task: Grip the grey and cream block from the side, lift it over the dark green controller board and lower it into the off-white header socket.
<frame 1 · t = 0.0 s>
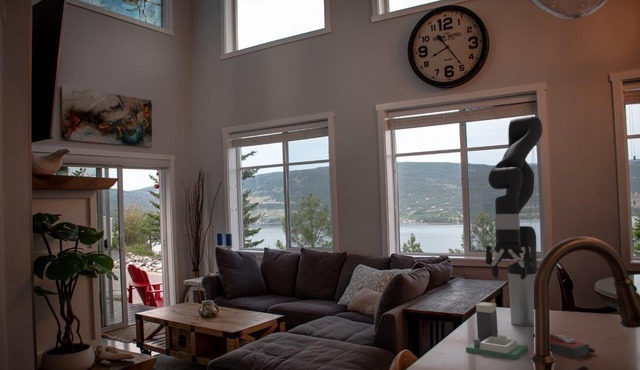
hand: (509, 278, 159), 17 cm above the kitchen island, tool pointing down, fingers open, 8 cm apart
walkie-talkie: (556, 349, 140), on the kitchen island
controller board: (496, 350, 140), on the kitchen island
grey and cream block: (488, 340, 151), on the kitchen island
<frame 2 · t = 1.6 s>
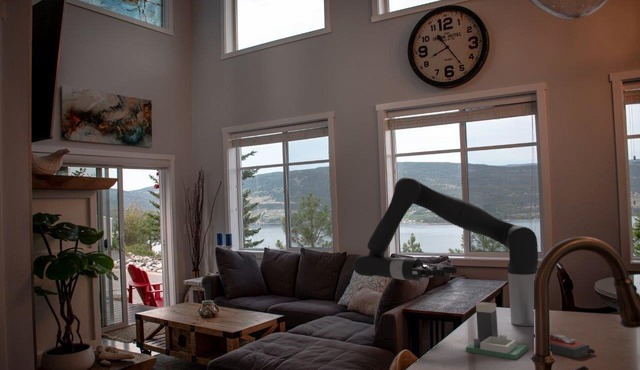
hand: (450, 271, 159), 20 cm above the kitchen island, tool horizontal, fingers open, 8 cm apart
nothing on the kitchen island moved.
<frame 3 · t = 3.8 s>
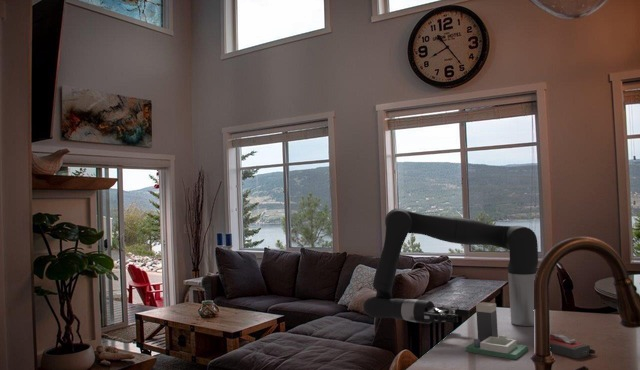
hand: (463, 316, 156), 6 cm above the kitchen island, tool horizontal, fingers open, 8 cm apart
nothing on the kitchen island moved.
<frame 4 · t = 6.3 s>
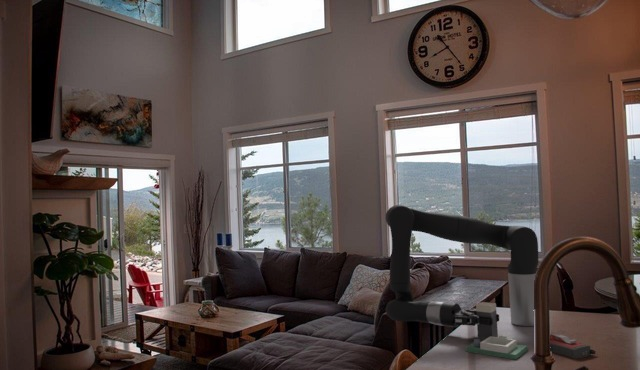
hand: (495, 319, 150), 7 cm above the kitchen island, tool horizontal, fingers closed on grey and cream block, 4 cm apart
grey and cream block: (488, 340, 151), on the kitchen island, touching gripper
everything else where it was.
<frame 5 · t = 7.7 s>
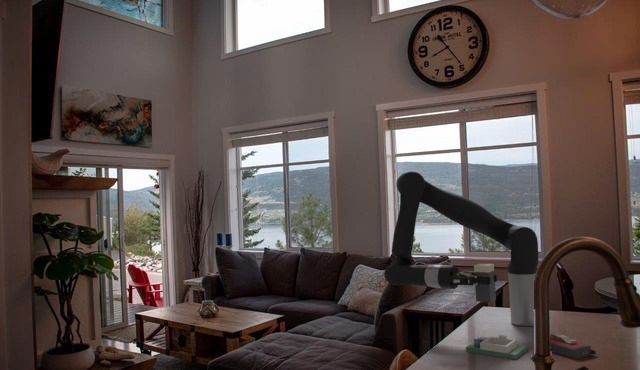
hand: (493, 279, 150), 19 cm above the kitchen island, tool horizontal, fingers closed on grey and cream block, 4 cm apart
grey and cream block: (486, 300, 152), point 12 cm above the kitchen island, touching gripper
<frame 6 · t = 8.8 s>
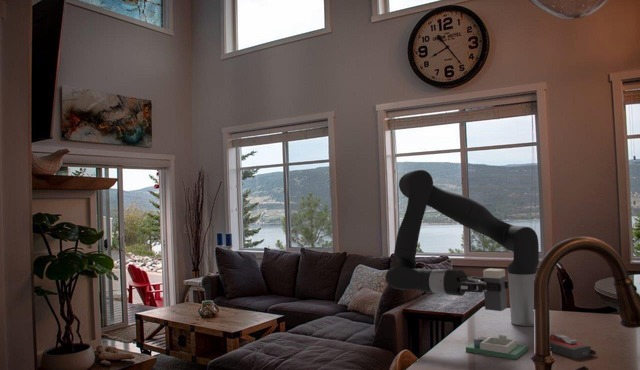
hand: (504, 286, 138), 19 cm above the kitchen island, tool horizontal, fingers closed on grey and cream block, 4 cm apart
grey and cream block: (496, 308, 139), point 12 cm above the kitchen island, touching gripper
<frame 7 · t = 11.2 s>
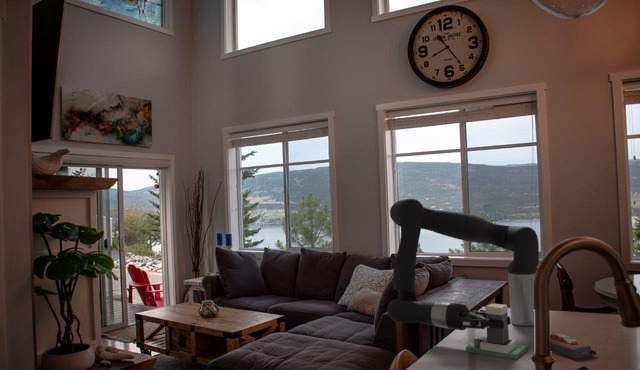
hand: (506, 322, 138), 9 cm above the kitchen island, tool horizontal, fingers closed on grey and cream block, 4 cm apart
grey and cream block: (498, 344, 139), point 2 cm above the kitchen island, touching gripper
when the fingers open (9 cm above the kitchen island, at t = 11.4 s): grey and cream block stays where it is, resting on controller board.
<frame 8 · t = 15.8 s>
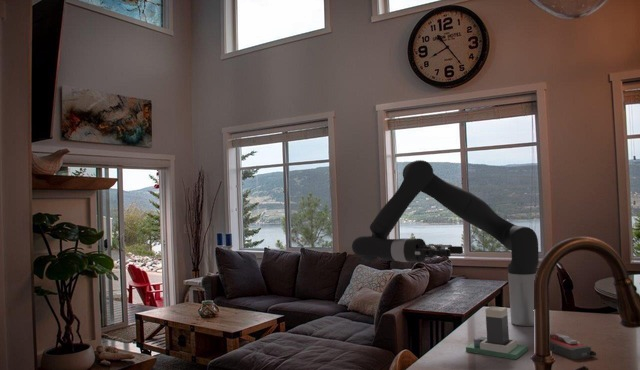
hand: (456, 251, 147), 28 cm above the kitchen island, tool horizontal, fingers open, 8 cm apart
grey and cream block: (498, 347, 139), point 1 cm above the kitchen island, touching controller board
at the end: grey and cream block 0.1 cm from the target spot on the controller board, point 1.2 cm above the controller board's base; grey and cream block tilted 0°; the gripper is holding nothing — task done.
